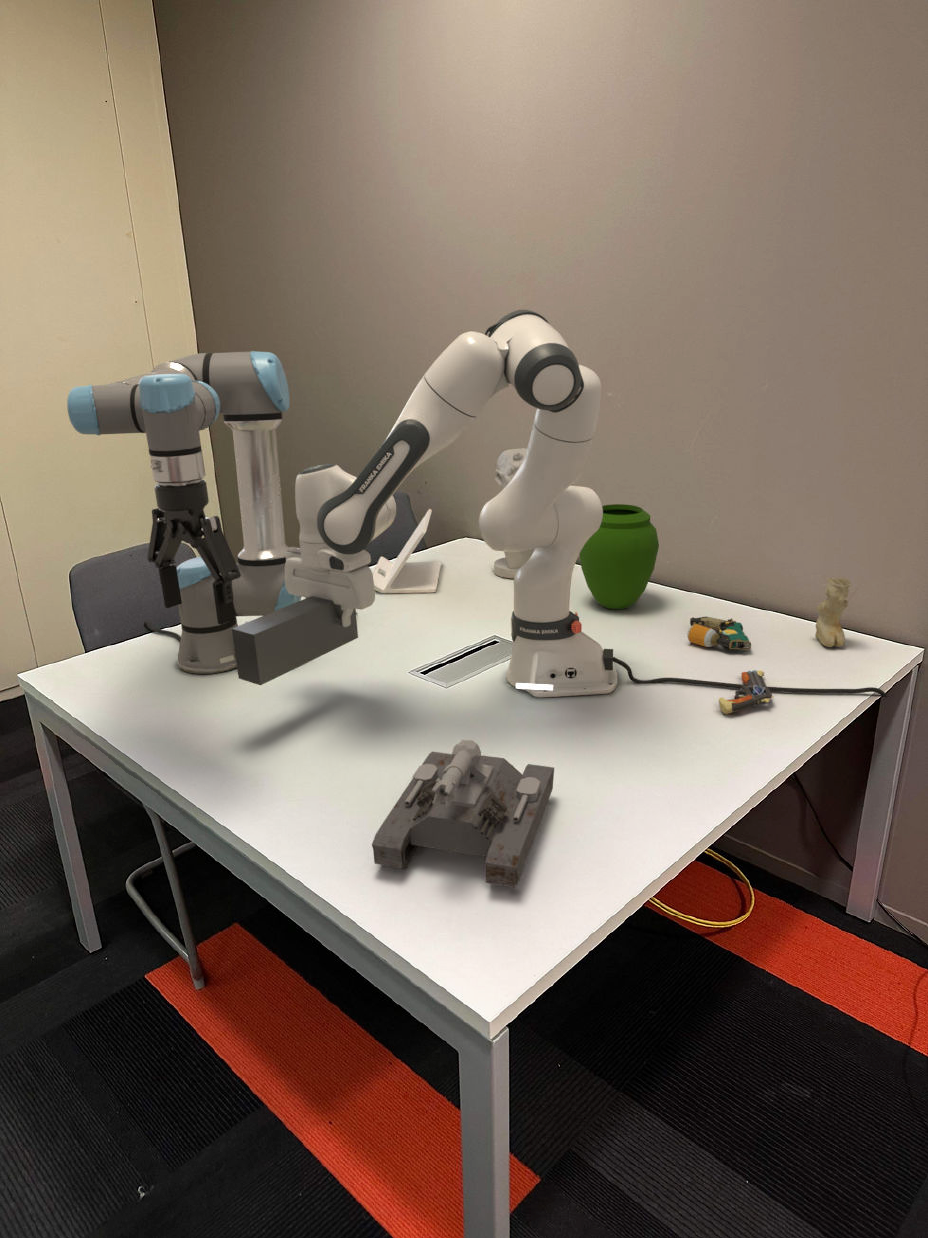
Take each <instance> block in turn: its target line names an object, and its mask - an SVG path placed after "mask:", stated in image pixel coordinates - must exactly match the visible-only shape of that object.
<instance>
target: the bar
mask: <svg viewBox="0 0 928 1238" xmlns="http://www.w3.org/2000/svg"><path fill="white" fill-rule="evenodd" d="M343 612H344V610H341V605H337V604H334V602H333V601H331V600H327V599H322V598H318V597H313V596H311V597H308V598H302V599H301V601H299V602H296V603H294V604H291V605H289V606H286V607H284V608H281V609H279V610H276V611H274V612H272V613H269V614H267V615H264V616H258V617H257V618H255V619H252V620H250V621H248V622H244V623H242V624H240V625H238V626H237V627H235V628H232V635H233V642H234V649H235V656H236V663H237V668H236V669H237V675H238V679H239V680H242V681H246V682H248V683H252V684H255V685H258V686H263V685H265V684H267V683H269V682H271V681H272V680H273V681H274V680H275V679H276V678H279V677H281V676H284V675H285V674H287V673H289V672H291V671H293V670H295V669H298V668H300V667H302V666H303V665H306V664H308V663H310V662H312V661H314V660H315V659H318V658H319V657H322V656H325V655H326V654H328V653H330V652H332V651H334V650H336V649H338V648H340V647H342V646H344V645H346V644H349V643H350V642H352V641H355V640H357V639H359V631H358V618H357V609H355V608H354V610H353V612H352V614H351V616H350V619H351V624H350V625H349V626H347V627H343V626H340V625H339V619H338V618H339V617H341V616H342V615H343Z"/></svg>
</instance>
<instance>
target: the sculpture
mask: <svg viewBox="0 0 928 1238" xmlns="http://www.w3.org/2000/svg"><path fill="white" fill-rule="evenodd" d="M826 581H827V586H826V588H825V590H824V593H825V595H826V596H827V598H826V600H824V601H822V602H821V603H820V604H819V605H818V606H817V609H816V610H817V612H818V614H819V616H818V617H817V619H816V623H815V630H816V631H815V634H814V635H815V639H817V640H819V642H820V643H821V644H822V645H823V646H825V647H827V648H832V647H834V646H835V647H843V646H844V645H845V643H846V642H845V641H846V636H845V632H844V630H843V626H842V624H841V622H840V621H841V617H842V615H843V612H844V610H845V609H846V608H847V606H848V604H849V603H848V602H849V601H847V598H848V597H849V592H850V586H851V585H852V582H850V580H848V579H847V578H845V577H841V576H840V577H835V578H831V577H827V578H826Z"/></svg>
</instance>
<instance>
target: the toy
mask: <svg viewBox="0 0 928 1238" xmlns="http://www.w3.org/2000/svg"><path fill="white" fill-rule="evenodd" d="M554 776H555V767H553V766H546V765H539V764H530V763H528V764H527V765H526V766H525V768H524V770H523V772H522V773H521V772H520V771H519V770H518V769H517V768H516V767H514V766H513V765H512V764H511V763H510V762H509V761H508V760H507V759H506V758H505V757H499V756H497V757H496V756H492V755H491V756H490V755H482V751H481V747H480V746H479V744H478V743H477V742H475V741H474V740H473V739H472V740H471V739H462V740H460V741H459V742H457V743H456V744H455V745H454V746H453V748H452V752H451V753H445V752H438V751H431V752H429V754H427V756H426V758H425V759H424V761H423V762H422V764H421V765H419V766H418V767H417V769H416V770H415V772H414V773H413V775H412V779H411V780H410V782H409V783H408V785H407V786H406V788H405V789H404V791H403V792H402V794H401V795H400V797H399V798H398V800H396V803H395V804H394V805H393V807H392V809H391V810H390V812H389V813H388V815H387V816H386V817H385V819H384V820H383V822H382V823H381V825H380V827H379V829H377V831H376V833H375V835H374V838H373V840H372V843H371V847H372V851H373V852H372V853H373V862H374V864H375V865H380V866H386V867H393V868H398V869H407V868H408V867H409V864H410V863H411V861H412V860H413V858H414V856H415V855H416V853H417V851H418V850H419V847H424V848H429V849H430V848H431V849H437V850H443V851H450V852H456V853H462V854H467V855H475V856H480V857H481V856H482V857H486V858H485V862H484V869H485V871H484V873H485V883H486V884H492V885H499V886H505V887H511V888H516V886H518V884H519V881H520V879H521V875H522V873H523V870H524V868H525V865H526V863H527V859H528V857H529V855H530V852H531V849H532V846H533V844H534V842H535V838H536V836H537V833H538V830H539V828H540V825H541V822H542V820H543V817H544V814H545V812H546V809H547V806H548V804H549V801H550V798H551V795H552V792H553V789H554Z"/></svg>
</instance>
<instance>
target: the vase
mask: <svg viewBox="0 0 928 1238" xmlns="http://www.w3.org/2000/svg"><path fill="white" fill-rule="evenodd" d="M602 508H603V518H602V522H601V525H600V527H599V529H598V530H597V531H596V532H595V533H594V534H593V535H592V536H591V537H590V538H589V540H588V541H587V542H586V544H585V545H584V547H583V548H582V550H581V552H580V554H579V562H580V569H581V571H582V574H583V577H584V580H585V583H586V585H587V588H588V590H589V591H590V594H592V597H593V598H594V600H595V601H596V602H597V603H598V604H599V605H600V606H602V607H604V608H606V609H609V610H625V609H628V608H630V607H632V606H634V604H636V602H638V601H639V599H640V597H641V596H642V595H643V593H644V592H645V590H646V588H647V586H648V584H649V581H650V579H651V577H652V574H653V572H654V570H655V566H656V562H657V557H658V552H659V548H660V544H659V543H660V542H659V537H658V531H657V528H656V527H655V526H654V524H653V523H652V522H651V515H650V514H649V512H647V511H645V510H644V509H643V508H642V507H641V506H638V505H633V504H622V503H621V504H619V503H616V504H615V503H614V504H604V505H602Z"/></svg>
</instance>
